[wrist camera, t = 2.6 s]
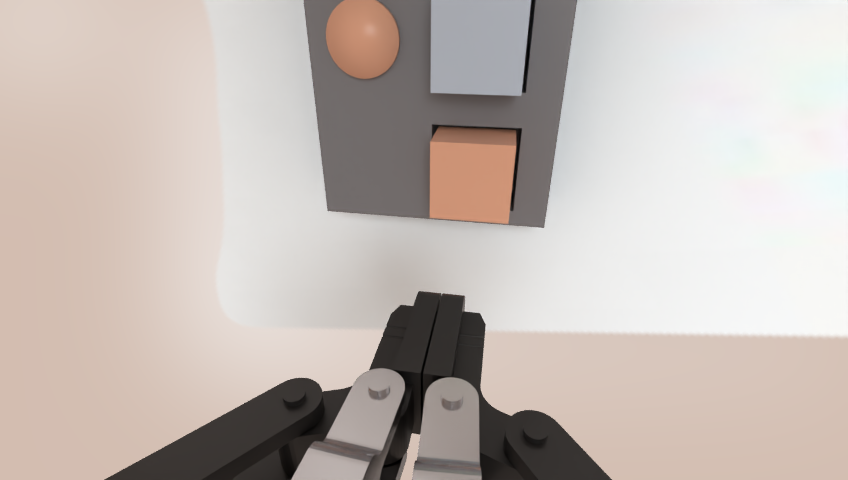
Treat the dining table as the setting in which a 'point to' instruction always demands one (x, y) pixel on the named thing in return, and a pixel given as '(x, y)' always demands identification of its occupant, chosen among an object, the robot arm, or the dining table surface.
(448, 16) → the blue key
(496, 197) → the terracotta key
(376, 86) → the key panel
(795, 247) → the dining table surface
